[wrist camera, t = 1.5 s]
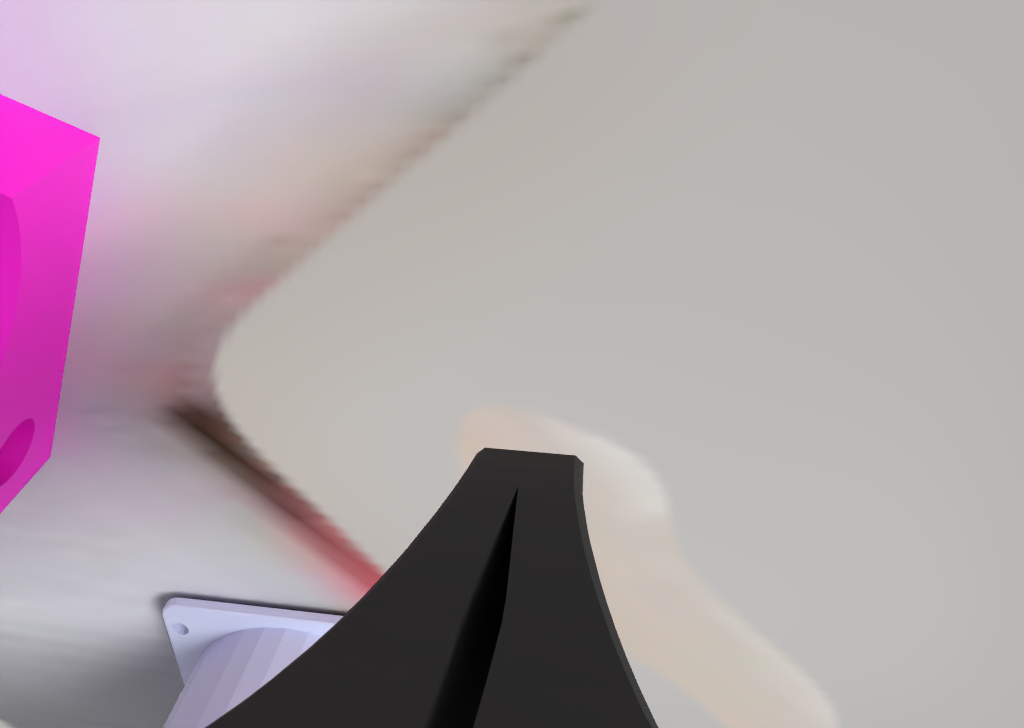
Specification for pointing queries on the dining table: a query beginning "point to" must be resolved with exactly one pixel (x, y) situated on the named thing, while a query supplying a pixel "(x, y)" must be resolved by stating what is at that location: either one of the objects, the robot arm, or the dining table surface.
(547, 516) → the robot arm
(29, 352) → the toy block
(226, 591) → the dining table surface
